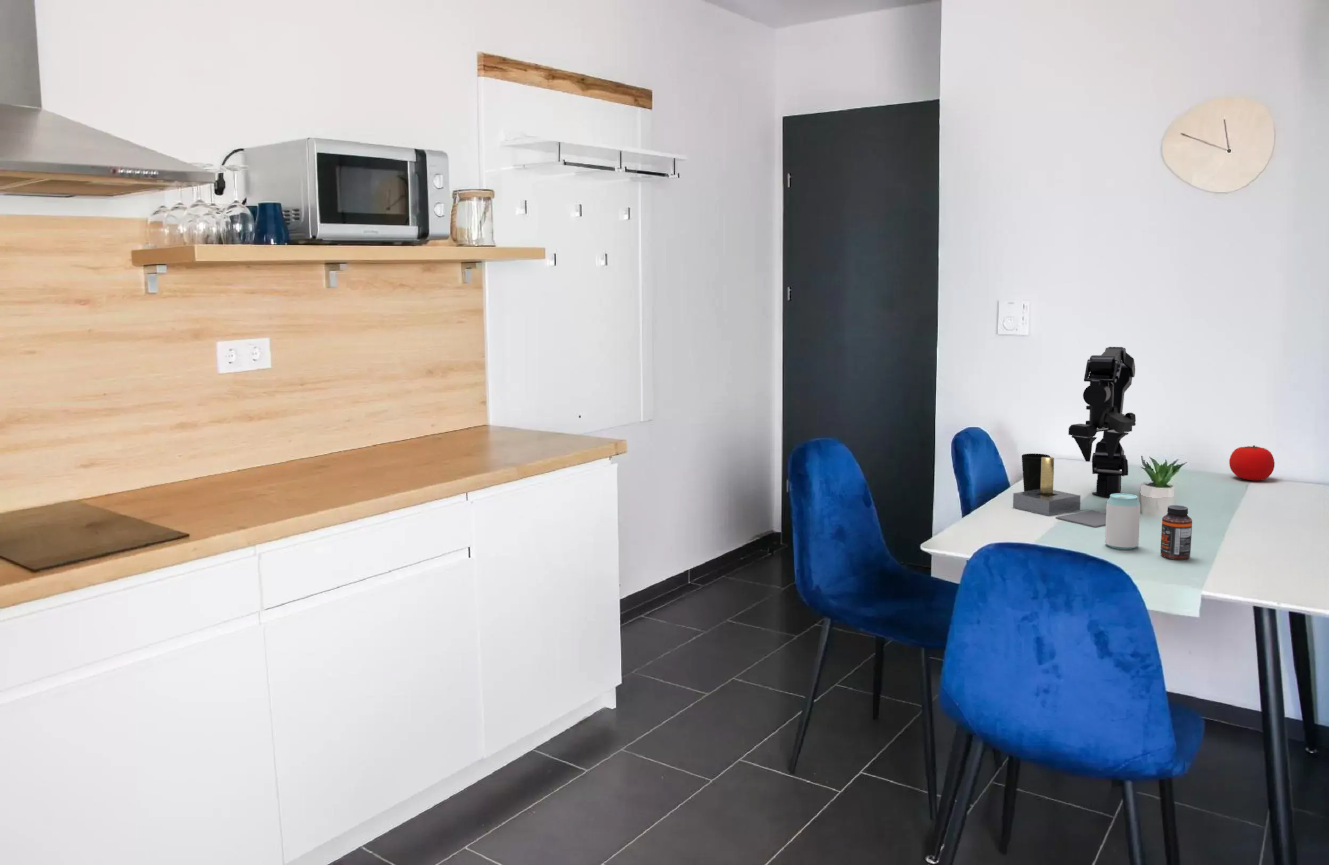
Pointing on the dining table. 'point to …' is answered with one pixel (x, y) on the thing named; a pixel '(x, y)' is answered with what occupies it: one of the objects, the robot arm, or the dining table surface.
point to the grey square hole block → (1046, 502)
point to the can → (1122, 521)
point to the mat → (1086, 518)
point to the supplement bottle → (1176, 533)
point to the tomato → (1252, 463)
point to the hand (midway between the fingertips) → (1099, 459)
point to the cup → (1032, 471)
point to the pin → (1047, 476)
